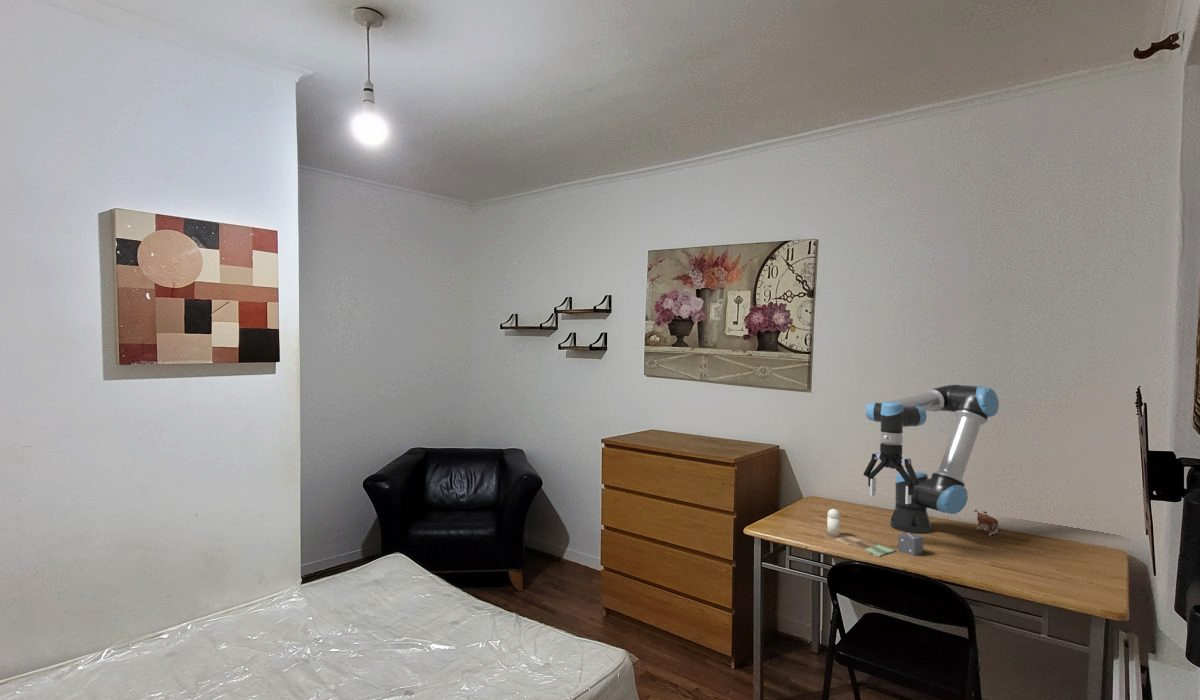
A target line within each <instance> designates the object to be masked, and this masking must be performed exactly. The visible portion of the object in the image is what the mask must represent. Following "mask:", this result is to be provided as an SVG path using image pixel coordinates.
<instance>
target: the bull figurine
mask: <svg viewBox="0 0 1200 700" xmlns="http://www.w3.org/2000/svg"><path fill="white" fill-rule="evenodd" d="M974 512H975V513H977V517H976V518H977V523H978V524H977V528H976V530H977V531H980V530H981V525H982V526H984V528H983V529H984V531H985V532H987V531H988V530H989V534H988V536H992V535H995V534H996V533H997V532H998V526H999V521H998V519H996V518H995V517H993V516H990V515H988V511H986V510H983V509H982V508H978V509H974Z"/></svg>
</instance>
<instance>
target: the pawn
mask: <svg viewBox="0 0 1200 700" xmlns="http://www.w3.org/2000/svg"><path fill="white" fill-rule="evenodd" d="M840 517H841V513H840V511H839V510H838V509H836V508H831V509H829V510H828V511H827V517H826V518H827V521H826V524H827V528H826V533H827V535H829V536H832V537H839V536H840V533H841V531H840V530H841V524H840V523H841V518H840Z"/></svg>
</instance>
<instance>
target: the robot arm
mask: <svg viewBox="0 0 1200 700" xmlns="http://www.w3.org/2000/svg"><path fill="white" fill-rule="evenodd" d="M999 407H1000V406H999V398H998V395H997V393H996V391H994V390H993V388H990V387H988V386H987V387H985V386H981V385H978V386H977V385H976V386H975V385H964V384H963V385H960V384H947V385H944V386H939V387H935V388H930V389H927V390H926V391H925V392H924V393H919V394H915V395H911V396H906V397H902V398H898V399H894V400H891V401H890V400H889V401H884V402H870V403H868V404H867V405H866V407H865V417H866V419H868V420H869V421H872V422H876V423H880V438H879V439H880V444H879V445H880V446H879V453H877V452H875V453H871V458H870V461H869V462H868V464H867V467H866V468H865V470H864V472H863V476H865V477H867V478H868V480H867V482H868V487H870V488H869V496H870V497H874V496H876V495H877V492H876V491H877V478H876V476H877V475H878V474H879V473H880V472H881V471H882V470H883V469H884V468H886V469H887V468H888V469H892V470H896V472H898V473H897V474H896V478H895V504H894V505H895V507H894V510H893V513H892V516H891V518H890V524H889V525H890V527H892V528H894V529H896V530H899V531H902V532H905V533H907V532H908V533H911V534H914V533H915V534H927V533H930V532H931V531H932V523H931V520H930V518H929V514H928V512H927V511H928V509H931V510H935V511H939V512H941V513H944V514H950V515H955V514H957V513H960V512H962V510H963V509H964V508H965V507H966V505H967V503H968V500H969V497H968V494H969V492H968V490H967V488H965V486H966V484H965V481H964V480H963V477H964V474H965V472H966V469H967V466H968V463H969V460H970V457H971V454H972V452H973V449H974V446H975V442H976V440H977V437H978V434H979V431H980V428H981V425H984V424H986V423H987V421H988V418H989V417H990V418H992V417H994V416H996V415H997V413H998V412H999ZM930 411H931V412H942V411H943V412H944V411H945V412H951V413H952V412H953V414H954V415H955V417H956V419H955V422H954V424H953V428H952V429H951V430H952V431H951V433H950V437H949V438H948V442H947V445H946V447H945V450H944V453H943V456H942V459H941V462H940V464H939V467H938V470H937V471H934V472H932V474H931V476H930V478H929V477H928V473H926V472H919V471H917V472H916V471H915V470H914V467H913V466H912V460H911V458H904V457H903V445H902V444H903V442H904V440H903V428H905V427H919V426H922V425H924V424H925V423H926V421H927V418H928V417H927V412H930ZM878 460H879V461H880V462H879V464H878V465H877V466H876V467H875V465H876V464H877V462H878ZM902 464H903V465H904V466H903V465H902ZM874 467H875V468H874ZM904 467H905V469H904Z"/></svg>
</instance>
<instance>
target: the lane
mask: <svg viewBox="0 0 1200 700" xmlns="http://www.w3.org/2000/svg"><path fill="white" fill-rule="evenodd" d="M818 536H821V537H824V538H827V539H830V540H832V541H836V542H839V543H842V544H845V545H848V546H851V547H854V548H857V549H859V550H862V551H866V552H869V553H870V554H871V555H874V556H877V557H883V556H887V555H889V554H893V553H895V552H896V549H894V548H891V547H887V546H883V545H881V544H877V543H874V542H872V541H869V540H865V539H862V538H859V537H856V536H852V535H850V534H847V533H843V532H840V536H839V537H832V536H829V535H827V532H824V533H821V534H818Z"/></svg>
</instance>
